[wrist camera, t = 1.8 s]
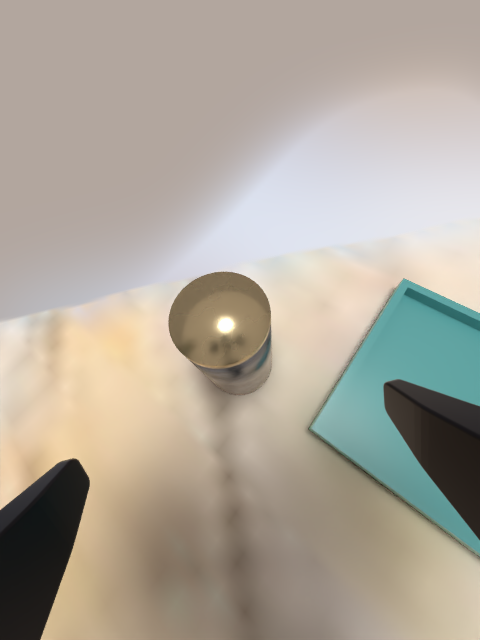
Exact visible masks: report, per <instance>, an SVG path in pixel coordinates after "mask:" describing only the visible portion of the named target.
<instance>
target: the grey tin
mask: <svg viewBox="0 0 480 640" xmlns="http://www.w3.org/2000/svg"><path fill="white" fill-rule="evenodd" d="M169 331H170V336H171V338H172V341H173V342H174V344H175V346H176V347H177V348H178V350H179V351H180V352H181V353H182V354H183V355H184V356H185V357H186V358H188V359H189V360H190V361H191V362H192V363H193V364H194V365H195V366H196V367H197V368H198V369H199V370H200V371H201V372H203V373H204V374H205V375H206V376H207V377H208V378H209V379H210V380H211V381H212V382H213V383H214V384H215V385H217V386H218V387H219V388H220V389H221V390H223V391H225V392H227V393H229V394H233V395H245V394H249V393H252V392H254V391H256V390H257V389H259V388H260V387H261V386H262V385H263V384H264V383H265V382H266V380H267V379H268V377H269V374H270V371H271V367H272V351H271V311H270V305H269V301H268V299H267V297H266V295H265V293H264V291H263V290H262V289H261V288H260V286H259V285H258V284H256V283H255V282H254V281H253V280H251V279H250V278H248V277H246V276H244V275H241V274H237V273H233V272H215V273H211V274H207V275H204V276H201V277H199V278H197V279H195V280H194V281H192V282H191V283H189V284H188V285H187V286H186V287H185V288H184V289H183V290H182V291H181V292H180V293H179V294H178V296H177V297H176V299H175V300H174V303H173V305H172V307H171V310H170V314H169Z"/></svg>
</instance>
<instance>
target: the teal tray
mask: <svg viewBox="0 0 480 640" xmlns="http://www.w3.org/2000/svg"><path fill="white" fill-rule="evenodd" d="M395 379H401V380H404V381H407V382H410V383H413V384H416V385H419V386H422V387H425V388H428V389H431V390H434V391H437V392H440V393H443V394H445V395H448V396H451V397H454V398H457V399H460V400H463V401H466V402H469V403H472V404H475V405H478V406H480V313H478V312H475V311H473V310H471V309H469V308H467V307H465V306H463V305H460V304H458V303H456V302H454V301H452V300H450V299H447V298H445V297H443V296H441V295H439V294H437V293H434V292H432V291H430V290H428V289H426V288H424V287H421V286H419V285H417V284H415V283H413V282H411V281H408V280H406V279H403V280H402V281H401V282H400V284H399V285H398V286H397V287H396V289H395V290H394V292H393V293H392V295H391V297H390V298H389V300H388V302H387V303H386V305H385V306H384V308H383V310H382V311H381V313H380V314H379V316H378V318H377V319H376V321H375V322H374V324H373V326H372V327H371V329H370V331H369V332H368V334H367V335H366V337H365V339H364V340H363V342H362V343H361V345H360V347H359V348H358V350H357V352H356V353H355V355H354V356H353V358H352V360H351V361H350V363H349V364H348V366H347V368H346V369H345V371H344V373H343V374H342V376H341V377H340V379H339V381H338V382H337V384H336V385H335V387H334V389H333V390H332V392H331V393H330V395H329V397H328V398H327V400H326V402H325V403H324V405H323V406H322V408H321V410H320V411H319V413H318V414H317V416H316V418H315V419H314V421H313V423H312V424H311V426H310V427H309V430H310V431H312V432H313V433H314V434H316V435H317V436H318V437H320V438H321V439H322V440H324V441H325V442H326V443H328V444H329V445H330V446H332V447H333V448H334V449H336V450H337V451H338V452H340V453H341V454H342V455H344V456H345V457H346V458H348V459H349V460H350V461H352V462H353V463H354V464H356V465H357V466H358V467H360V468H361V469H362V470H364V471H365V472H366V473H368V474H369V475H370V476H372V477H373V478H374V479H376V480H377V481H378V482H380V483H381V484H382V485H384V486H385V487H386V488H388V489H389V490H390V491H392V492H393V493H394V494H396V495H397V496H398V497H400V498H401V499H402V500H404V501H405V502H406V503H408V504H409V505H410V506H412V507H413V508H414V509H416V510H417V511H418V512H420V513H421V514H422V515H424V516H425V517H426V518H428V519H429V520H430V521H432V522H433V523H434V524H436V525H437V526H439V527H440V528H441V529H443V530H444V531H445V532H447V533H448V534H449V535H451V536H452V537H453V538H455V539H456V540H457V541H459V542H460V543H461V544H463V545H464V546H465V547H467V548H468V549H469V550H471V551H472V552H473V553H475V554H476V555H477V556H479V557H480V540H479V539H478V538H477V536H476V535H475V534H474V533H473V531H472V530H471V529H470V528H469V526H468V525H467V524H466V523H465V521H464V520H463V519H462V517H461V516H460V515H459V514H458V512H457V511H456V510H455V509H454V507H453V506H452V505H451V503H450V502H449V501H448V500H447V498H446V497H445V496H444V495H443V493H442V492H441V491H440V490H439V488H438V487H437V486H436V484H435V483H434V482H433V481H432V479H431V478H430V477H429V476H428V474H427V473H426V472H425V470H424V469H423V468H422V466H421V465H420V463H419V462H418V461H417V459H416V458H415V456H414V455H413V453H412V451H411V450H410V448H409V447H408V445H407V444H406V442H405V441H404V439H403V437H402V436H401V434H400V433H399V431H398V430H397V428H396V427H395V425H394V424H393V422H392V420H391V419H390V417H389V416H388V414H387V412H386V410H385V406H384V391H383V385H384V383H385V382H387V381H391V380H395Z"/></svg>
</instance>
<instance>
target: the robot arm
mask: <svg viewBox="0 0 480 640" xmlns="http://www.w3.org/2000/svg"><path fill="white" fill-rule="evenodd" d="M383 391H384V406H385V410H386V412H387V414H388V416H389V417H390V419H391V420H392V422H393V424H394V425H395V427H396V428H397V430H398V431H399V433H400V434H401V436H402V437H403V439H404V441H405V442H406V444H407V445H408V447H409V448H410V450H411V451H412V453H413V455H414V456H415V458H416V459H417V461H418V462H419V463H420V465H421V466H422V468H423V469H424V470H425V472H426V473H427V474H428V476H429V477H430V478H431V479H432V481H433V482H434V483H435V484H436V486H437V487H438V488H439V490H440V491H441V492H442V493H443V495H444V496H445V497H446V498H447V500H448V501H449V502H450V503H451V505H452V506H453V507H454V509H455V510H456V511H457V512H458V514H459V515H460V516H461V517H462V519H463V520H464V521H465V523H466V524H467V525H468V526H469V528H470V529H471V530H472V531H473V533H474V534H475V535H476V536H477V538H478V539H479V540H480V406H478V405H475V404H472V403H469V402H466V401H463V400H460V399H457V398H454V397H451V396H448V395H445V394H443V393H440V392H437V391H434V390H431V389H428V388H425V387H422V386H419V385H416V384H413V383H410V382H407V381H404V380H401V379H395V380H391V381H387V382H385V383H384V385H383ZM89 486H90V480H89V477H88V475H87V474H86V472H85V470H84V469H83V467H82V465H81V464H80V462H79V461H78V460H77V459H69V460H65V461H61V462H59V463H58V464H56V465H55V466H54V467H53V468H52V469H50V470H49V471H48V472H47V473H45V474H44V475H43V476H42V477H41V478H39V479H38V480H37V481H36V482H34V483H33V484H32V485H31V486H29V487H28V488H27V489H26V490H25V491H23V492H22V493H21V494H20V495H18V496H17V497H16V498H15V499H13V500H12V501H11V502H10V503H9V504H7V505H6V506H5V507H4V508H2V509H1V510H0V640H40V639H41V636H42V634H43V631H44V628H45V625H46V622H47V620H48V617H49V614H50V611H51V608H52V606H53V603H54V600H55V597H56V594H57V592H58V589H59V586H60V583H61V580H62V578H63V575H64V572H65V569H66V566H67V564H68V561H69V558H70V555H71V552H72V549H73V545H74V542H75V539H76V535H77V531H78V527H79V524H80V520H81V516H82V513H83V509H84V505H85V502H86V498H87V494H88V490H89Z"/></svg>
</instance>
